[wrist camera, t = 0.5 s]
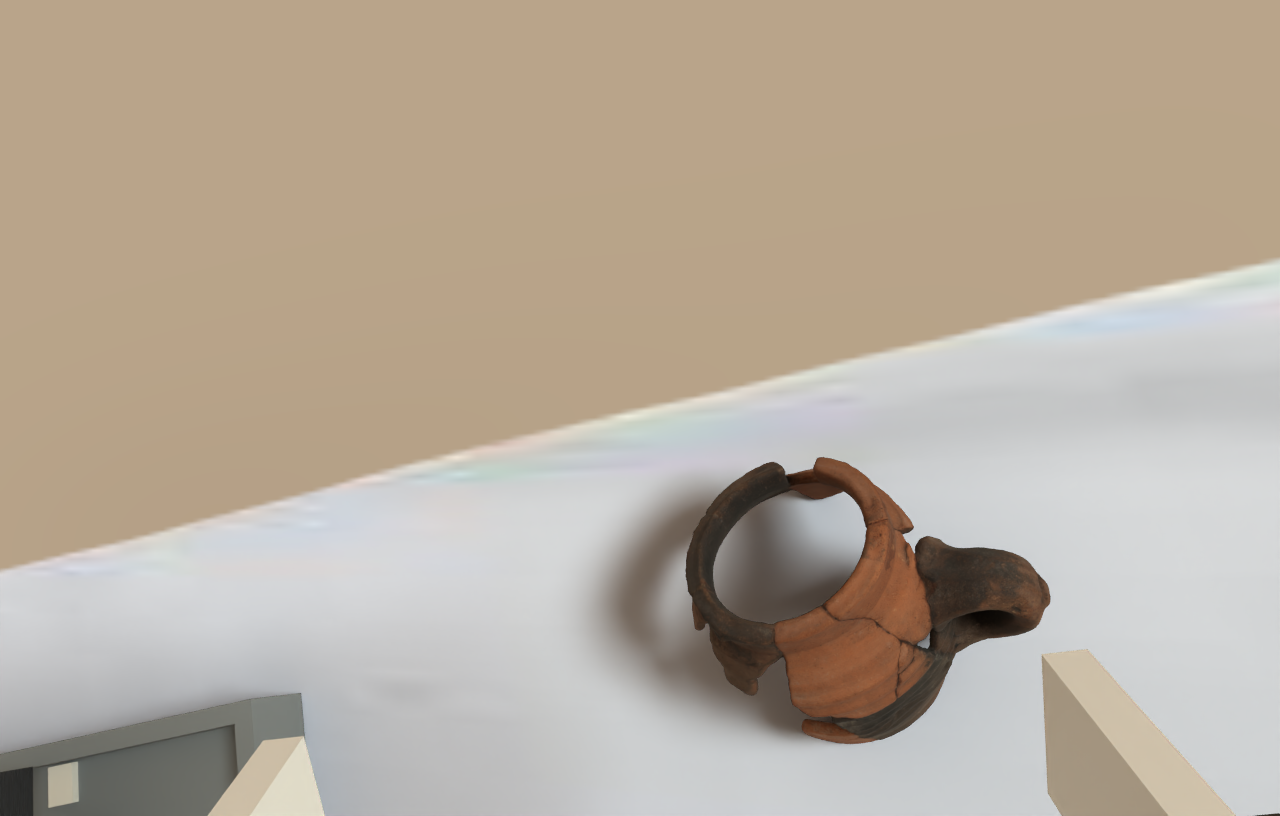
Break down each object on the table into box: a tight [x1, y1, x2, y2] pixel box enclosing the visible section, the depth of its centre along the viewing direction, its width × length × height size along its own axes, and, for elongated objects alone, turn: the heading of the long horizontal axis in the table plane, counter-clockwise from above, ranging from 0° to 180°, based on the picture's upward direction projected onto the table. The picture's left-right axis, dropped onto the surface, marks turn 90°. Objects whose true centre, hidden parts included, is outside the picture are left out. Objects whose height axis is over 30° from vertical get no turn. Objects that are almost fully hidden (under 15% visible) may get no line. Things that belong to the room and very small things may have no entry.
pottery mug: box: [686, 457, 1050, 744], centre depth 32 cm, size 12×10×8 cm
